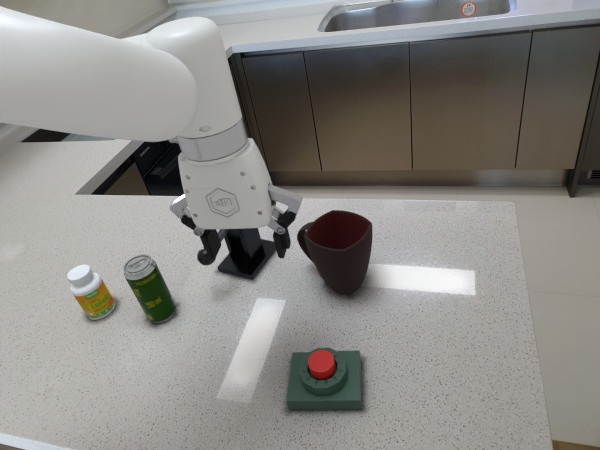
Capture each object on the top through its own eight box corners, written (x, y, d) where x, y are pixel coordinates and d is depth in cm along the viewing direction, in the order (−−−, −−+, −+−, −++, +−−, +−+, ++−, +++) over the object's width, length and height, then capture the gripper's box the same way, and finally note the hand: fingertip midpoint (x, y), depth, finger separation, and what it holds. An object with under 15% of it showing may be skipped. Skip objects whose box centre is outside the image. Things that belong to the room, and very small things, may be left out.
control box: (361, 359, 68) (358, 342, 66) (361, 409, 62) (359, 392, 59) (294, 361, 70) (289, 344, 67) (289, 410, 63) (283, 393, 61)
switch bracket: (252, 280, 86) (235, 226, 78) (218, 271, 89) (199, 219, 82) (278, 246, 92) (265, 194, 85) (245, 239, 96) (230, 188, 88)
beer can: (169, 297, 86) (145, 249, 79) (182, 312, 82) (159, 262, 75) (143, 314, 84) (116, 265, 76) (155, 329, 80) (128, 280, 73)
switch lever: (212, 270, 78) (205, 259, 76) (198, 267, 80) (190, 255, 78) (248, 216, 86) (243, 204, 83) (234, 213, 87) (228, 201, 85)
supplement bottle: (99, 324, 83) (75, 286, 78) (81, 315, 86) (56, 278, 80) (122, 303, 87) (100, 265, 81) (103, 295, 90) (81, 258, 84)
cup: (353, 311, 76) (345, 256, 68) (290, 282, 84) (277, 230, 77) (385, 274, 81) (380, 220, 74) (322, 250, 89) (313, 199, 82)
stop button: (336, 357, 65) (334, 349, 64) (335, 379, 62) (333, 371, 61) (310, 357, 65) (308, 350, 64) (308, 380, 62) (306, 372, 61)
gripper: (130, 159, 51) (180, 271, 61) (280, 148, 47) (307, 270, 57) (158, 128, 57) (199, 235, 67) (293, 116, 53) (316, 232, 63)
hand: (249, 251), depth 62 cm, fingers open, 9 cm apart
